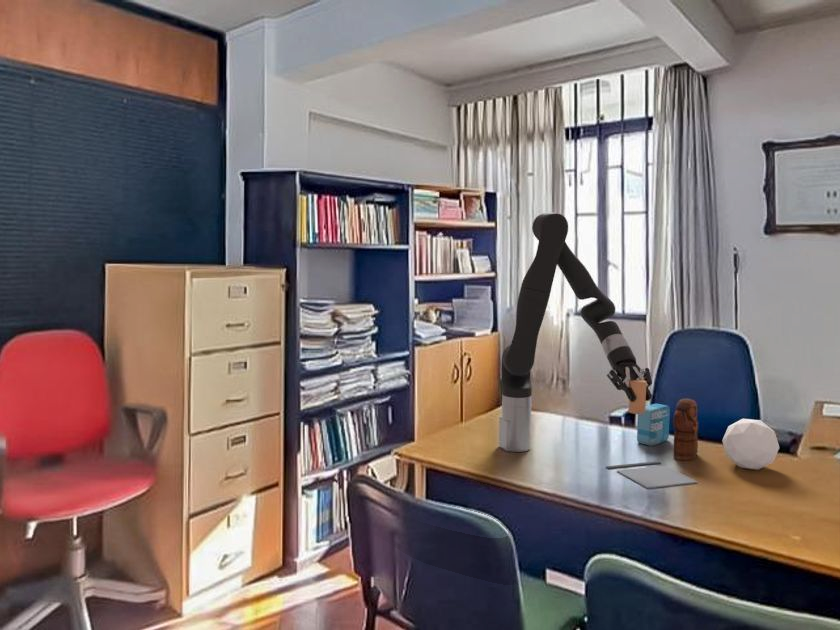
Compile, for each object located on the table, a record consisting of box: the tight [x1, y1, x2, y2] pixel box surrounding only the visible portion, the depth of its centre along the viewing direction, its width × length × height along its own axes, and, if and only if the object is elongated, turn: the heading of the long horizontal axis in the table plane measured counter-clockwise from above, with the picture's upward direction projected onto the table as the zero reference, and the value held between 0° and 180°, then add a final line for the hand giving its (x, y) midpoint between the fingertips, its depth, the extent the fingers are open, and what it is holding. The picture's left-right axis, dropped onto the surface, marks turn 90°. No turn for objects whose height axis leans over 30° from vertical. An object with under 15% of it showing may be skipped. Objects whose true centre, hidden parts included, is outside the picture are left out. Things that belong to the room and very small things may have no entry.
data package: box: [636, 403, 671, 447], centre depth 219 cm, size 12×4×12 cm, turn 129°
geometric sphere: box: [721, 418, 780, 471], centre depth 194 cm, size 14×15×15 cm
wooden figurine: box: [672, 397, 700, 461], centre depth 204 cm, size 12×6×18 cm, turn 146°
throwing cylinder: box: [628, 379, 647, 415], centre depth 194 cm, size 5×5×9 cm
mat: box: [605, 460, 699, 490], centre depth 187 cm, size 18×18×1 cm
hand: (641, 399), depth 192 cm, fingers closed on throwing cylinder, 4 cm apart
